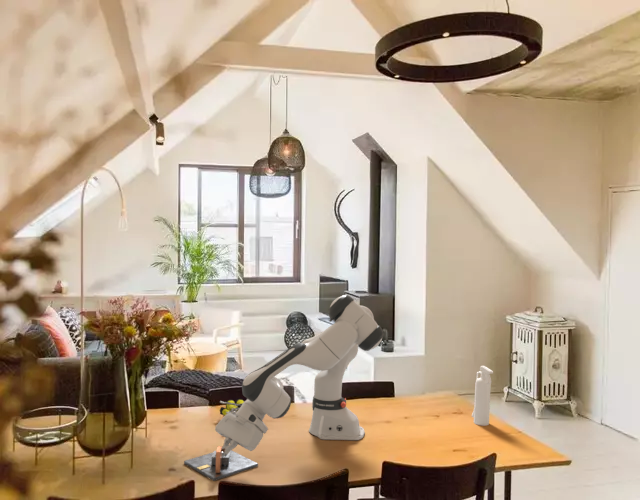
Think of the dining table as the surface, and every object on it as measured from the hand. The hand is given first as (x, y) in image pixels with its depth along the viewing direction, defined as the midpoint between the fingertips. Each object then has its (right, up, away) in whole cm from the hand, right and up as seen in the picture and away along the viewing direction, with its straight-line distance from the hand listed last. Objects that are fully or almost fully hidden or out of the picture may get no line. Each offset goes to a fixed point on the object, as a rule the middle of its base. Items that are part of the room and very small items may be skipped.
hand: (223, 452), depth 197 cm
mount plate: (-2, -6, +5) cm, 8 cm away
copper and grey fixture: (-2, -5, +2) cm, 5 cm away
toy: (-1, -5, +49) cm, 49 cm away
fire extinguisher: (+102, -7, +59) cm, 118 cm away
